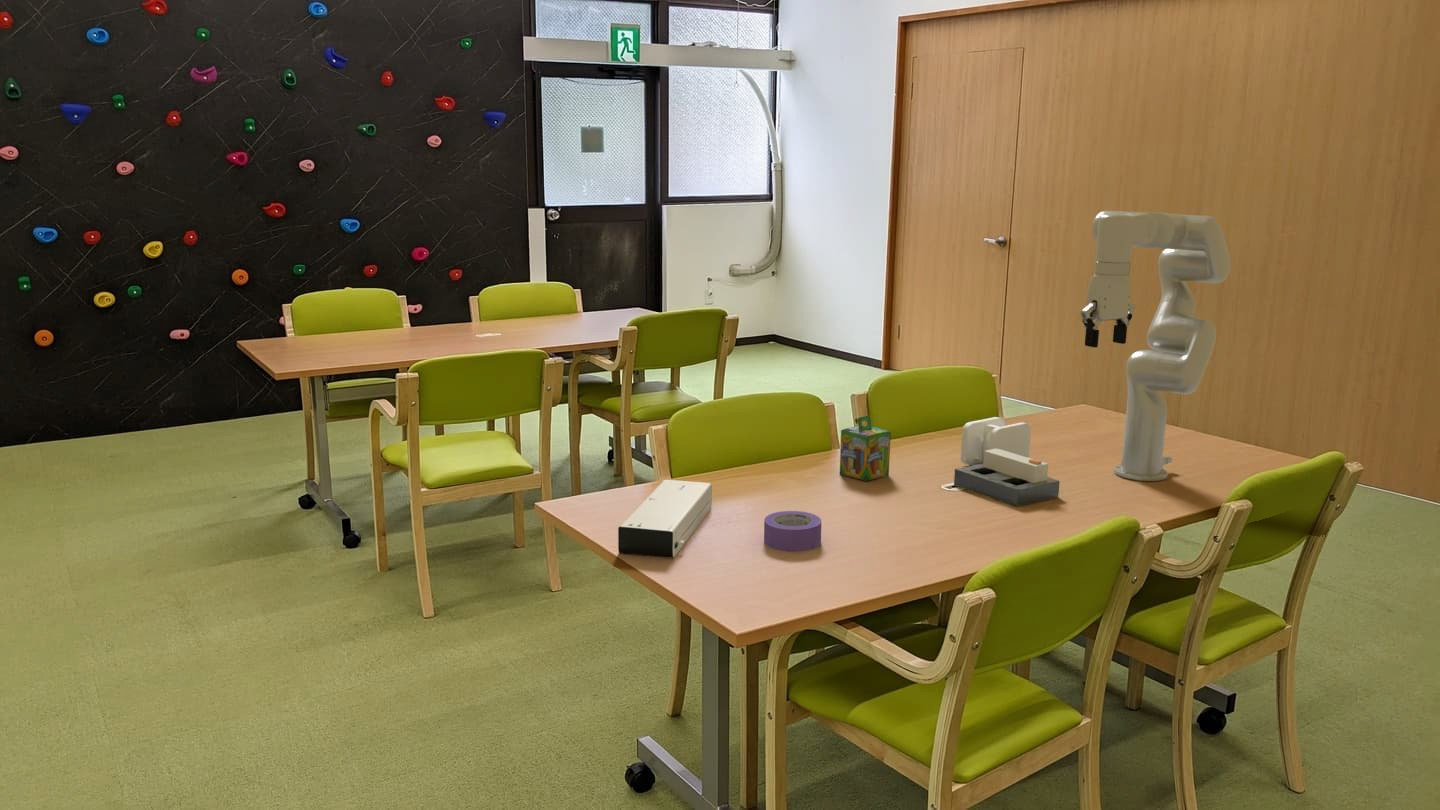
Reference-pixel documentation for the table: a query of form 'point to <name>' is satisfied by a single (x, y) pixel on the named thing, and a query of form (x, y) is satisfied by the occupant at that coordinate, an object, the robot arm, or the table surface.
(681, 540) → the laminator
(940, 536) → the table surface
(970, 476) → the grey slotted tray
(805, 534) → the tape roll
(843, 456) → the chalk box
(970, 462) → the cable organizer
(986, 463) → the white bar with pegs
